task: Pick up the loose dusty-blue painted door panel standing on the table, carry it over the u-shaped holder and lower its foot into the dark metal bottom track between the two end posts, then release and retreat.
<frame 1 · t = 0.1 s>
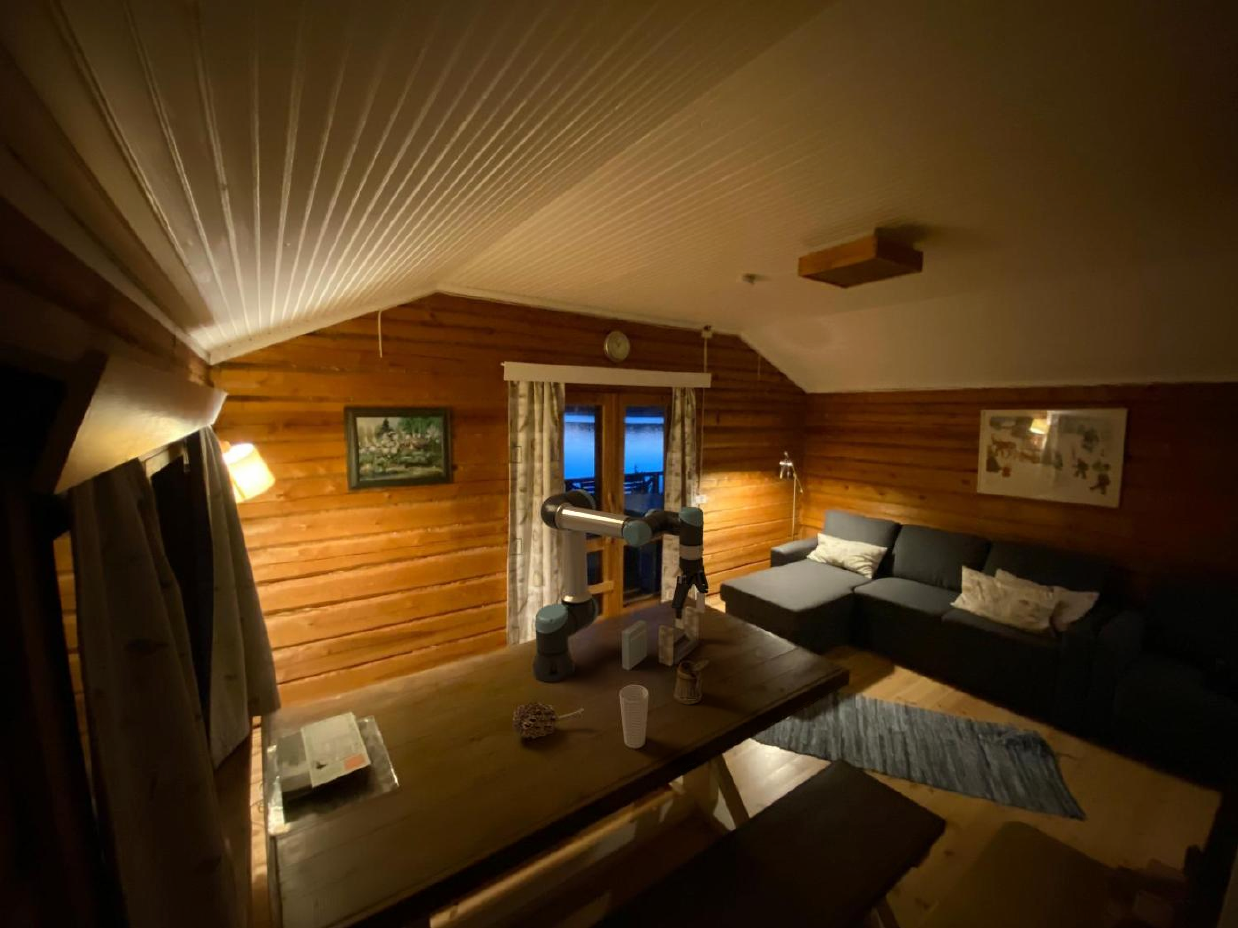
hand: (690, 619, 164), 28 cm above the table, fingers open, 13 cm apart
cup: (634, 742, 149), on the table
door panel: (634, 661, 192), on the table
u-shaped holder: (679, 651, 199), on the table
wooden mug: (691, 700, 168), on the table
dried seed pod: (549, 732, 154), on the table
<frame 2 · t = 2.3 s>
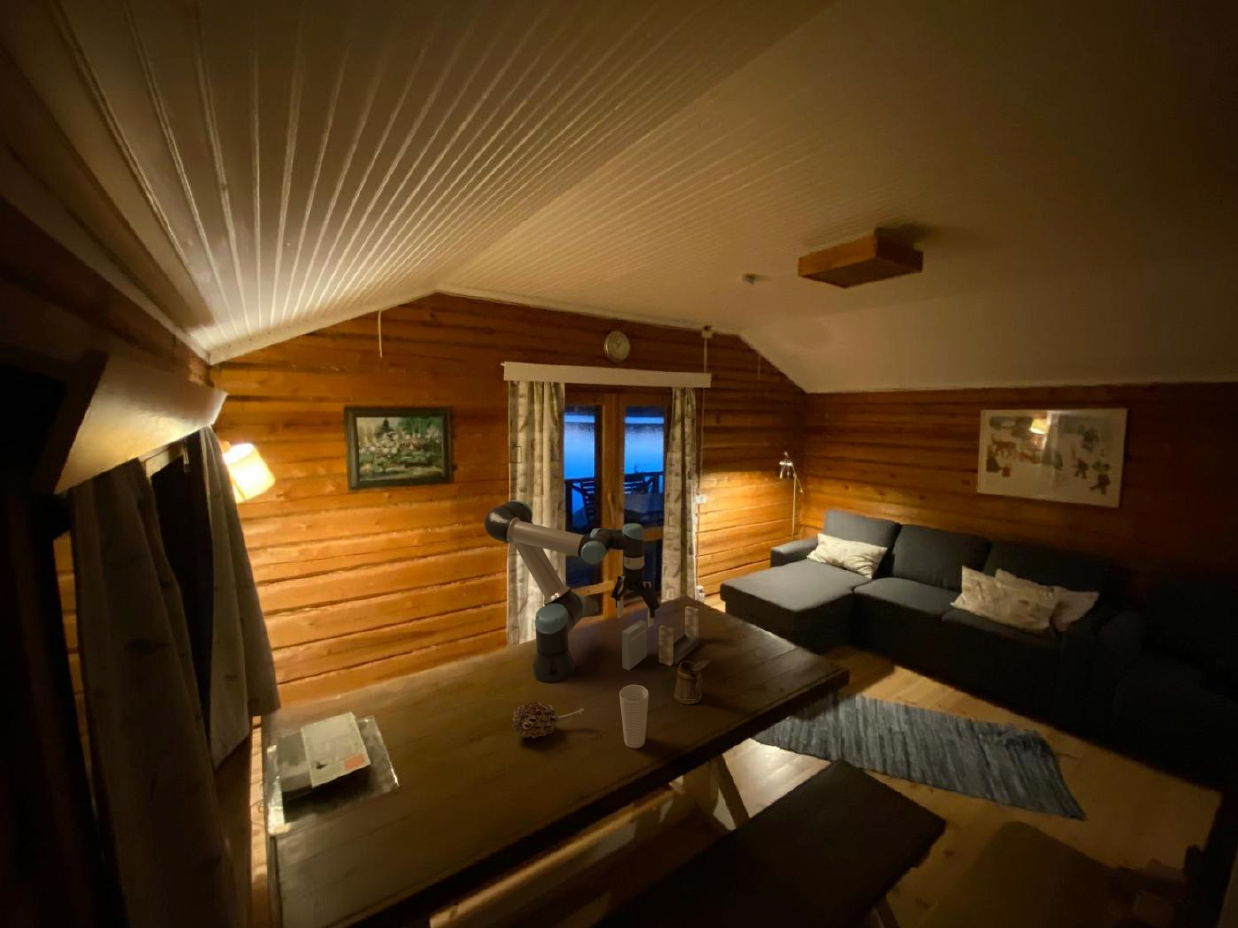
hand: (635, 621, 189), 16 cm above the table, fingers open, 13 cm apart
nothing on the table moved.
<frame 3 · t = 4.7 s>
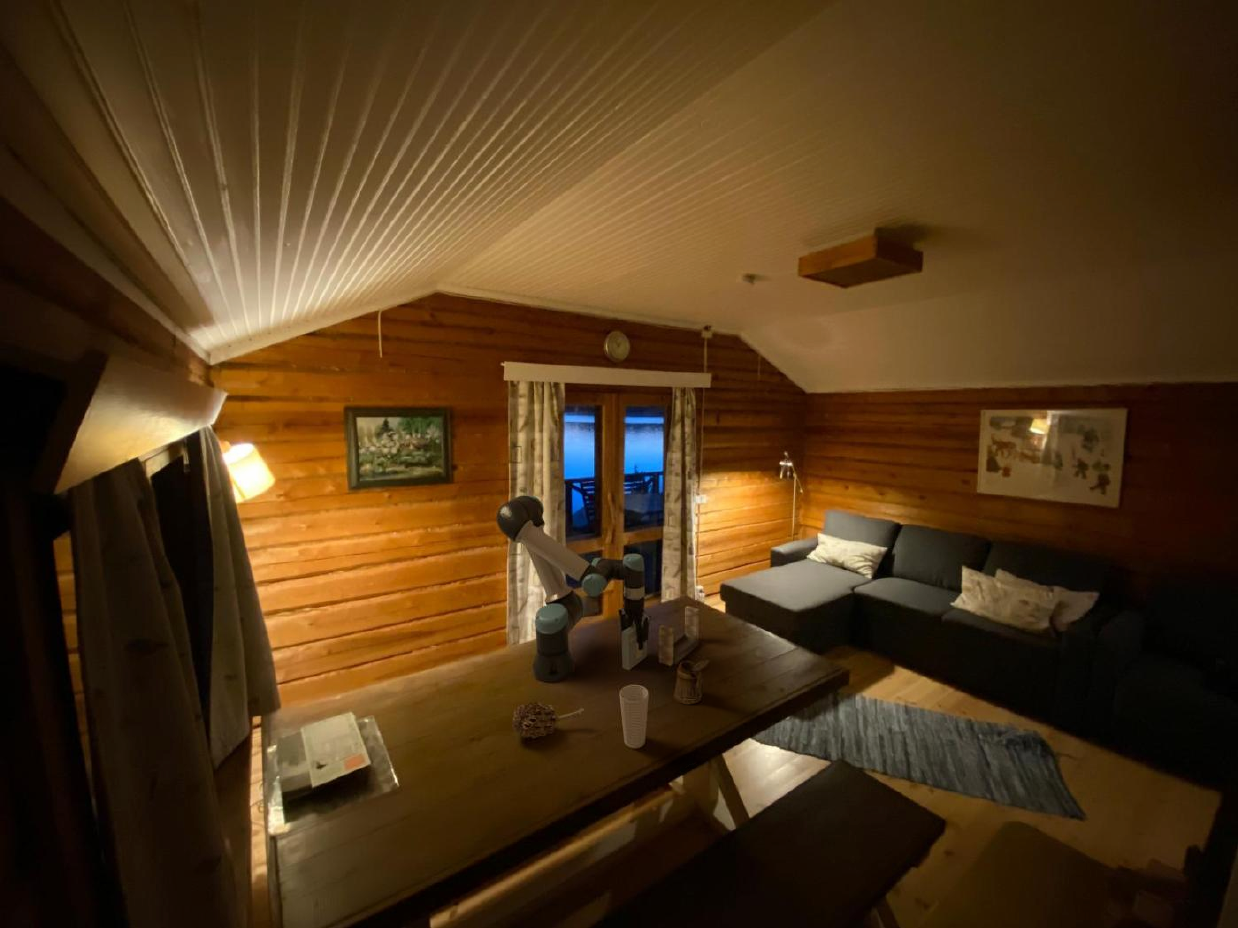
hand: (634, 655, 192), 3 cm above the table, fingers closed on door panel, 3 cm apart
door panel: (634, 661, 192), on the table, touching gripper
everything else where it was.
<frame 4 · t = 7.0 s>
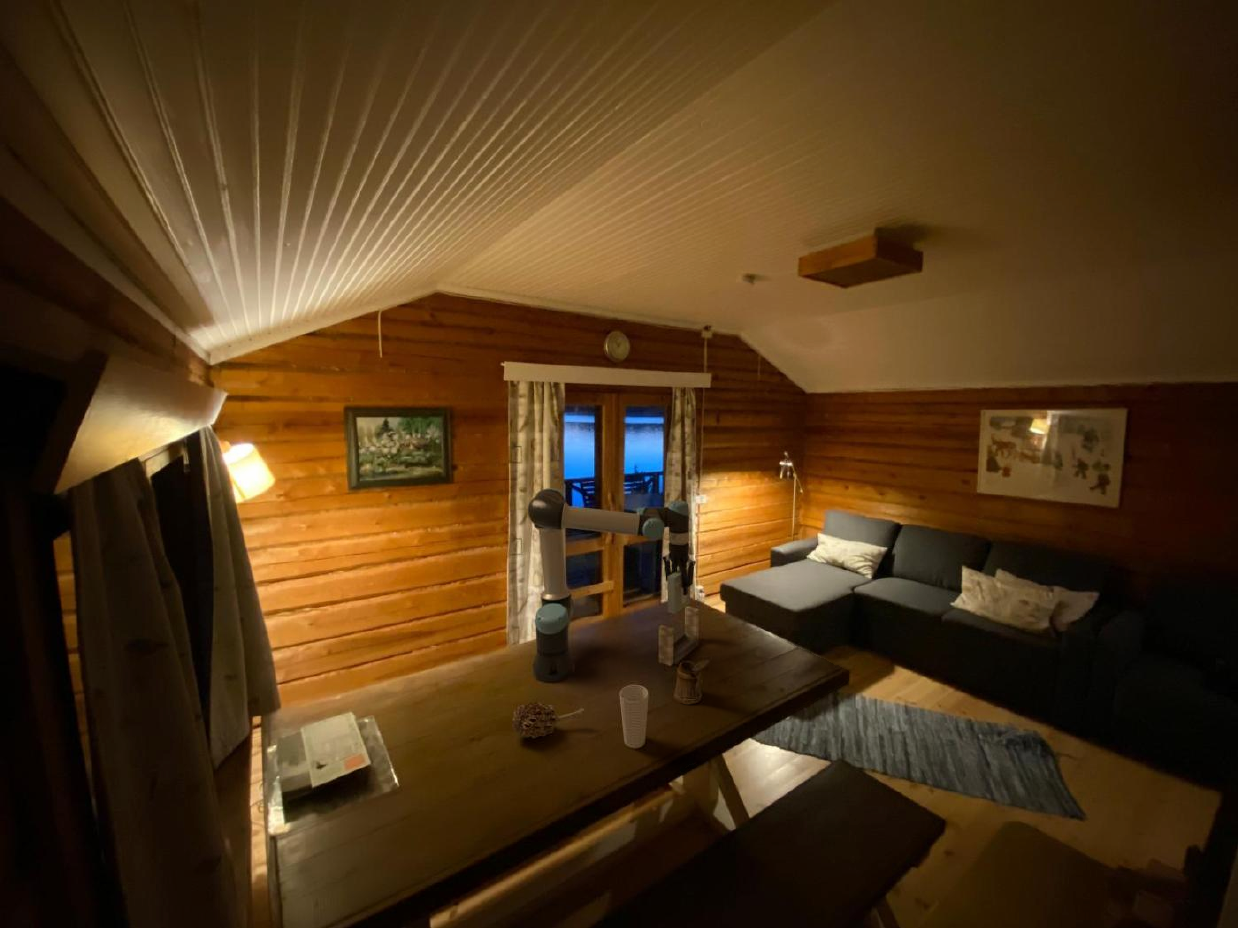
hand: (679, 601, 196), 21 cm above the table, fingers closed on door panel, 3 cm apart
door panel: (679, 607, 196), point 18 cm above the table, touching gripper
everything else where it was.
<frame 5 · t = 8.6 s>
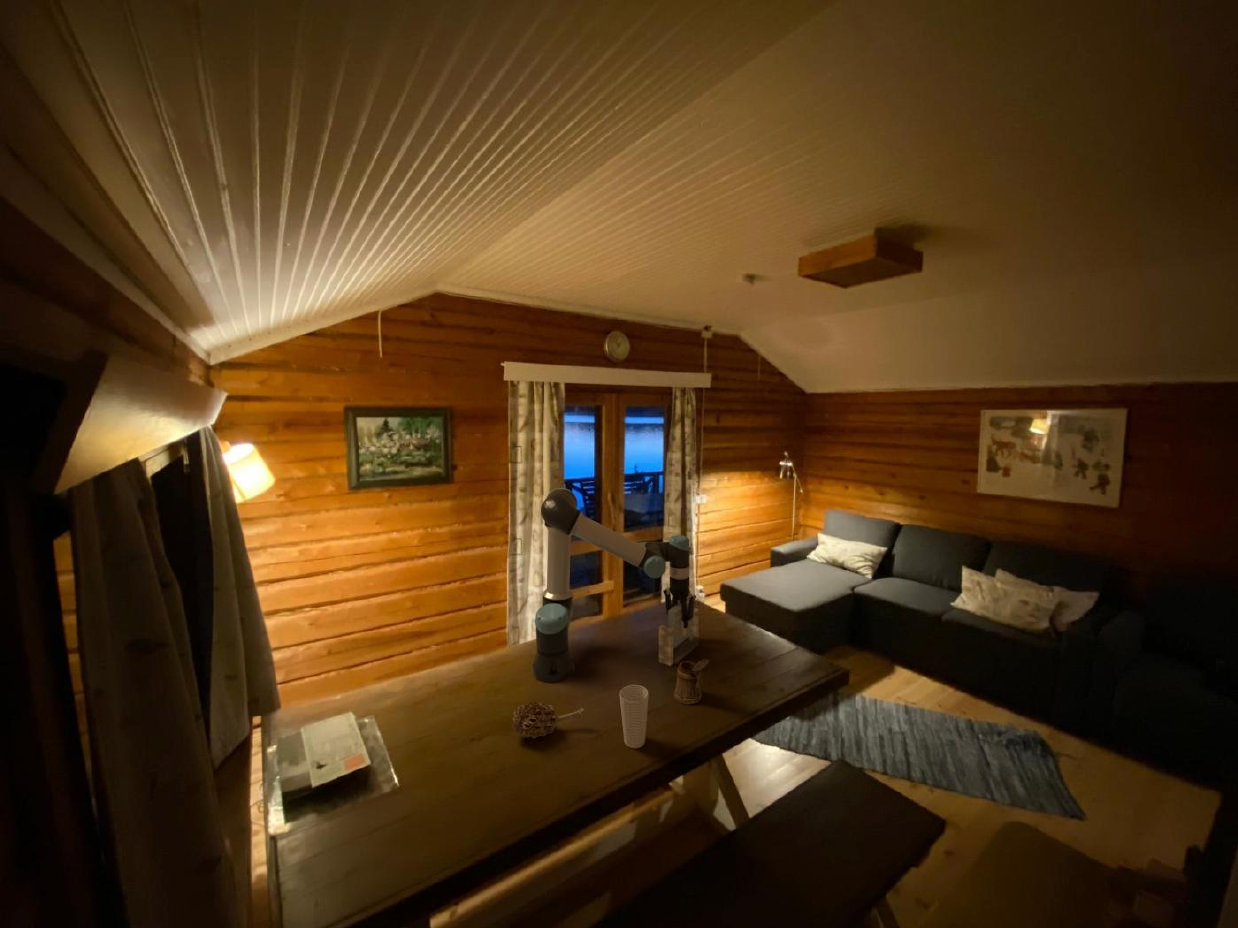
hand: (679, 633, 198), 7 cm above the table, fingers closed on door panel, 3 cm apart
door panel: (679, 640, 198), point 5 cm above the table, touching gripper
everything else where it was.
when the fingers open (4 cm above the table, at t = 9.8 s): door panel drops 1 cm, resting on u-shaped holder.
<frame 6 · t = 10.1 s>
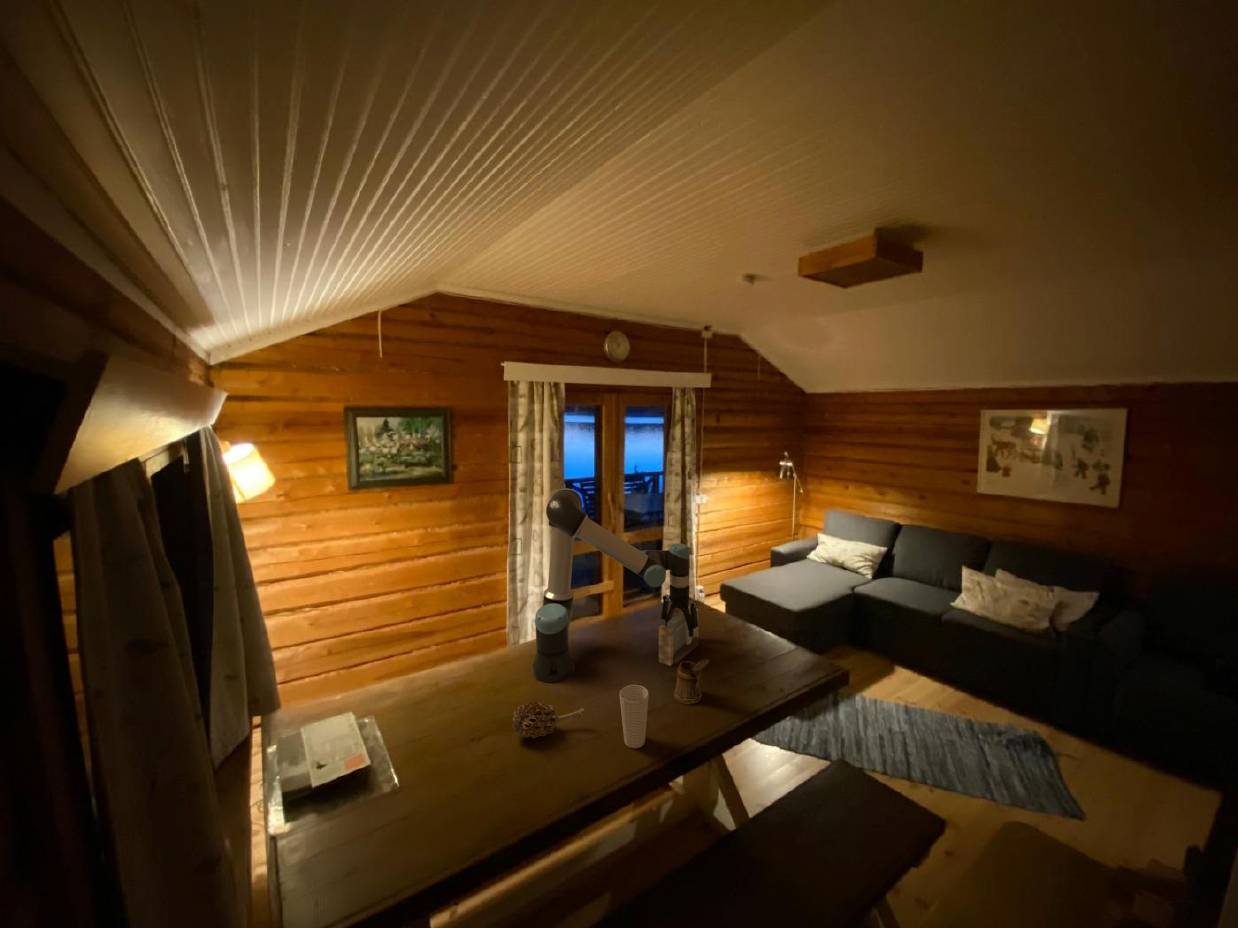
hand: (679, 640, 198), 5 cm above the table, fingers open, 8 cm apart
door panel: (679, 650, 199), resting on u-shaped holder
everything else where it was.
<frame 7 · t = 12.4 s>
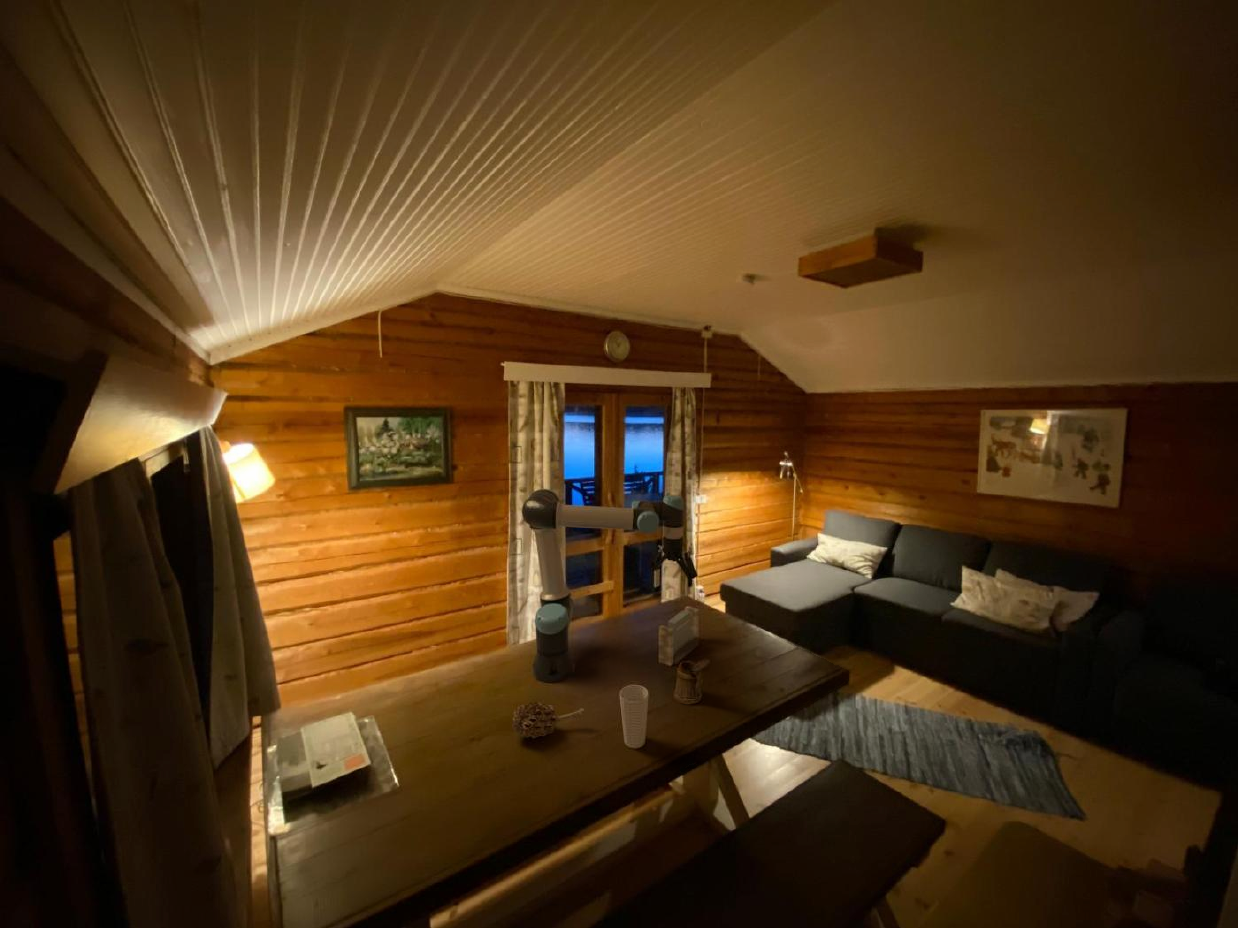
hand: (671, 590, 195), 25 cm above the table, fingers open, 13 cm apart
nothing on the table moved.
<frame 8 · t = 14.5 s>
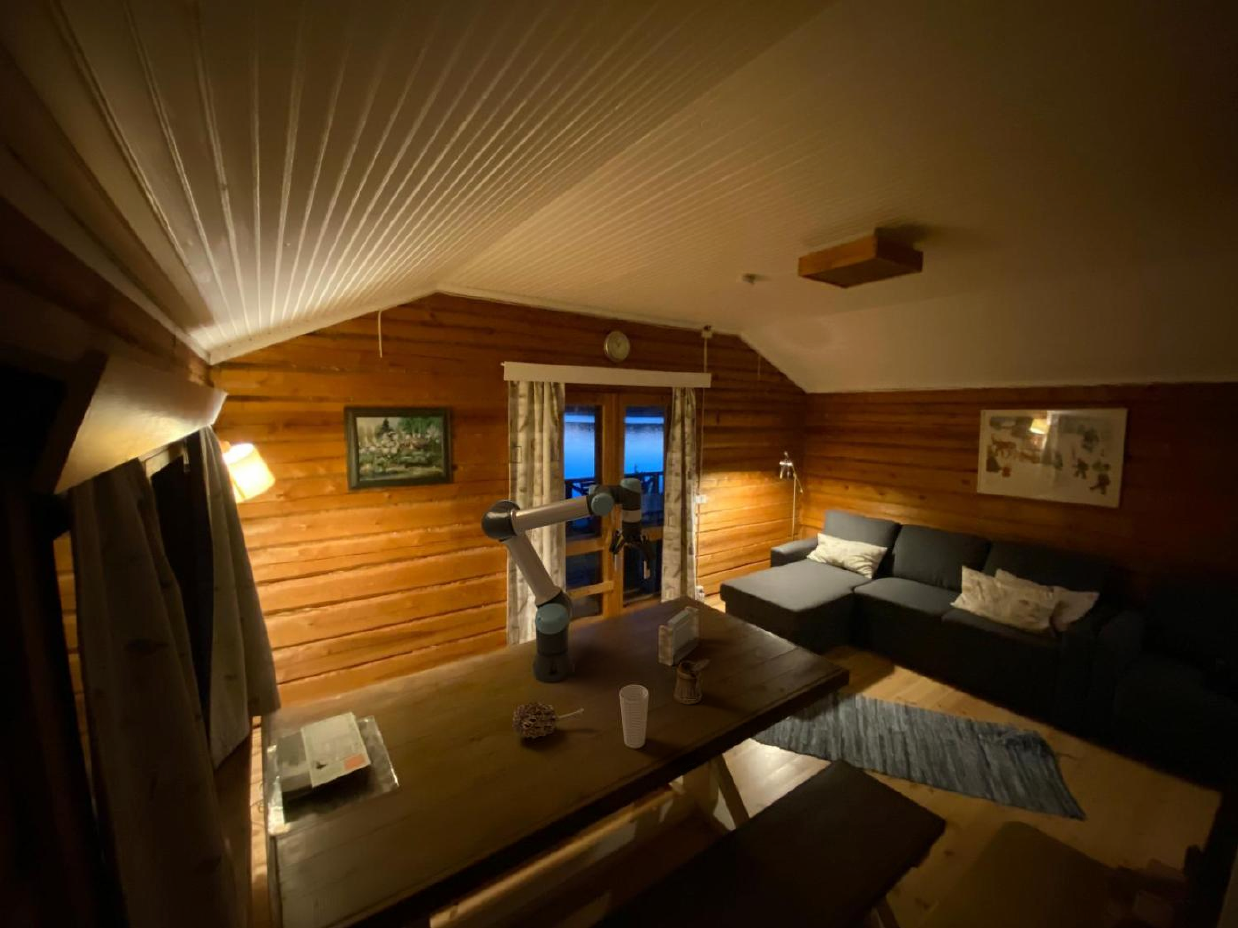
hand: (632, 573, 195), 32 cm above the table, fingers open, 13 cm apart
nothing on the table moved.
at the end: door panel inside the target area on the u-shaped holder (0.1 cm from its centre), point 0.4 cm above the u-shaped holder's base; door panel tilted 0°; the gripper is holding nothing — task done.
